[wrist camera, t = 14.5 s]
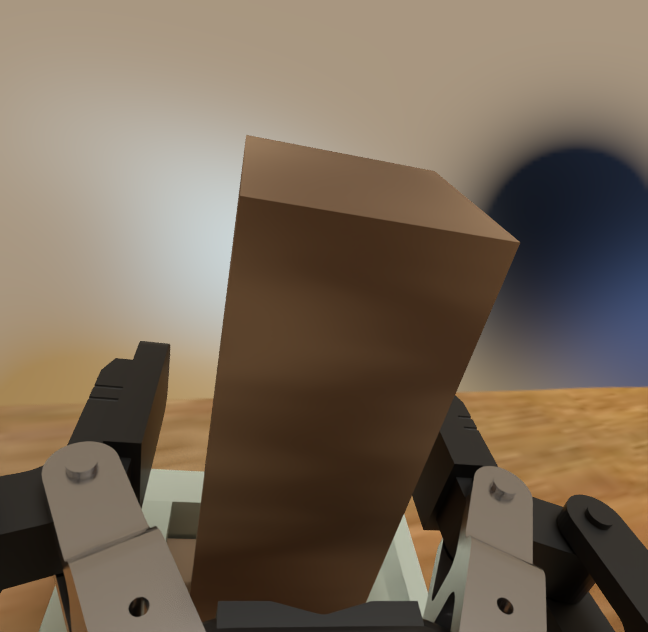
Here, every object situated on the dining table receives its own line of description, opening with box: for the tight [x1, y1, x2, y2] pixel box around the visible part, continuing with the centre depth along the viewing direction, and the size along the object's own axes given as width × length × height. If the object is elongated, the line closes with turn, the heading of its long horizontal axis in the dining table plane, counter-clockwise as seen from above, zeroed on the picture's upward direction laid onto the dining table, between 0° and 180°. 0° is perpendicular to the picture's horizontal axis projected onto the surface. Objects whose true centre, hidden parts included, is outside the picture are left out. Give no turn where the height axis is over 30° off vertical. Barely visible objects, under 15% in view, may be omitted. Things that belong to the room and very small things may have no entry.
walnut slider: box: [167, 135, 520, 622], centre depth 12 cm, size 7×7×16 cm
